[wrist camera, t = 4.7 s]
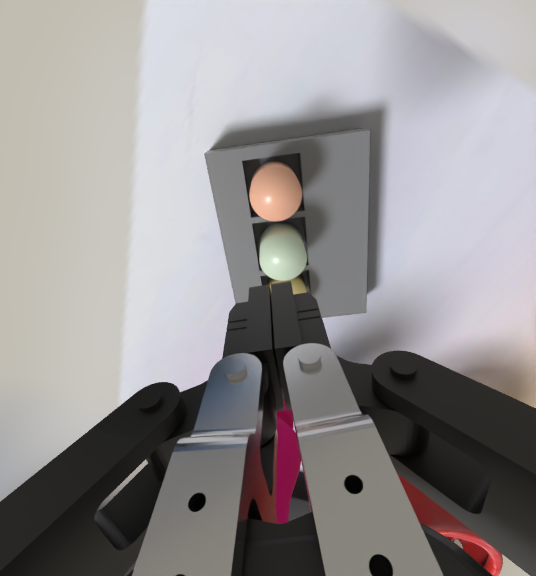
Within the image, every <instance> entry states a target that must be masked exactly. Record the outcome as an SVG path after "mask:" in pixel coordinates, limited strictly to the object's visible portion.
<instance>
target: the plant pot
mask: <svg viewBox="0 0 536 576" xmlns="http://www.w3.org/2000/svg"><path fill="white" fill-rule="evenodd" d="M396 473H397V472H396ZM397 475H398V477H399V479H400V481H401V484H402V486H403V488H404V490H405V492H406V495H407V497H408V499H409V501H410V503H411V505H412V508H413V510H414V512H415V514H416V516H417V519H418V521H419V523H421V524H423V525H426V526H428V527H430V528H432V529H433V530H435V531H437V532H439V533H440V534H442V535H444V536H445V537H447V538H448V539H449V540H451V541H452V542H454V540H455V539H458V540H459V541H460V542H461V544H462V546H463V550H464V551H465V552H467V553H468V554H469V555H470V556H471V557H472V558H474V559H475V560H476V561H477V562H478V563H479V564H480V565H482V566H483V567H484V568H485V569H486V570H487V571H488V572H490V573H491V574H492V575H493V576H498V575H499V573H500V571H501V569H502V564H503V558H502V554H501V553H500V552H499V551H498V550H497V549H495V548H494V547H493V546H491V545H490V544H489V543H487V542H486V541H485V540H484V539H482V538H481V537H480V536H478V535H477V534H476V533H474V532H473V531H472V530H471V529H469V528H468V527H467V526H465V525H464V524H463V523H462V522H460V521H459V520H458V519H456V518H455V517H454V516H452V515H451V514H450V513H449V512H447V511H446V510H445V509H443V508H442V507H441V506H439V505H438V504H437V503H436V502H434V501H433V500H432V499H430V498H429V497H428V496H426V495H425V494H424V493H423V492H421V491H420V490H419V489H417V488H416V487H415V486H414V485H412V484H411V483H410V482H408V481H407V480H406V479H404V478H403V477H402V476H401V475H399V474H398V473H397Z"/></svg>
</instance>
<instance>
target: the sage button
mask: <svg viewBox="0 0 536 576" xmlns="http://www.w3.org/2000/svg"><path fill="white" fill-rule="evenodd" d="M259 260H260V266H261V268H262V270H263V271H264V273H265V274H266V275H267V276H269V277H270V278H272V279H275V280H279V281H286V280H290V279H293V278H295V277H297V276H298V275H299V274H300V273H301V272H302V271H303V270H304V268H305V266H306V263H307V254H306V250H305V247H304V244H303V240H302V237H301V234H300V232H299V230H298V229H297V228H296V227H295V226H293V225H292V224H289V223H286V222H277V223H274V224H271V225H270V226H268V227H267V228H266V229H265V230H264V231H263V233H262V235H261V238H260V258H259Z"/></svg>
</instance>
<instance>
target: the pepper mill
mask: <svg viewBox="0 0 536 576" xmlns="http://www.w3.org/2000/svg"><path fill="white" fill-rule="evenodd" d="M276 430H277V434H278V445H277V478H276V515H277V524H284V523H287V522H288V514H289V505H290V499H291V495H292V492H293V489H294V486H295V483H296V480H297V477H298V474H299V470H300V464H301V456H300V451H299V446H298V441H297V436H296V433H295V431H294V430H293V414H292V409H290V410H287V408H286V403H285V399H284V410H283V411H277V429H276Z"/></svg>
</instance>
